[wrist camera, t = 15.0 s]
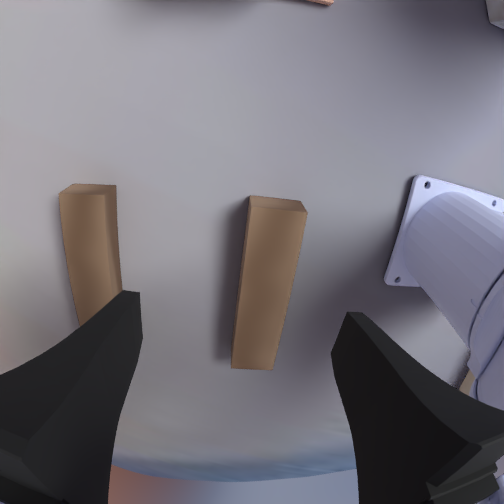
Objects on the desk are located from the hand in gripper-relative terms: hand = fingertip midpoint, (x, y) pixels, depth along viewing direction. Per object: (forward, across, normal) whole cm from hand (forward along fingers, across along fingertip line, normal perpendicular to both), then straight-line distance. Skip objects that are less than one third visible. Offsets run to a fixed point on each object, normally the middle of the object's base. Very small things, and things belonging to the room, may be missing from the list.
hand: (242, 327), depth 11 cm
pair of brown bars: (+9, +4, +4) cm, 11 cm away
